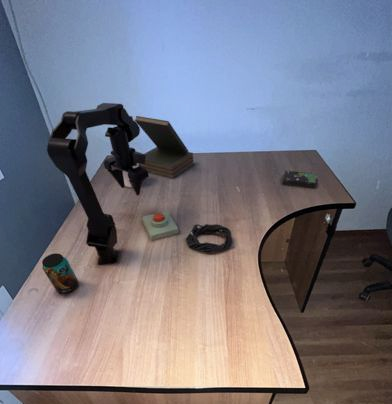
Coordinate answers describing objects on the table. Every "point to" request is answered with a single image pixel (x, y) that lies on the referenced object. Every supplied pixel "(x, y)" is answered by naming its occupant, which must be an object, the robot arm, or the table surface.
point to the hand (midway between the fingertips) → (130, 191)
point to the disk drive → (299, 179)
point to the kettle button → (158, 217)
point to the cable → (209, 230)
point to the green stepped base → (160, 226)
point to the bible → (164, 149)
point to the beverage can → (60, 273)
